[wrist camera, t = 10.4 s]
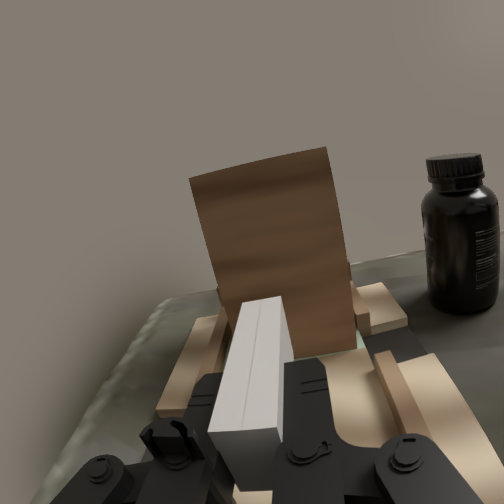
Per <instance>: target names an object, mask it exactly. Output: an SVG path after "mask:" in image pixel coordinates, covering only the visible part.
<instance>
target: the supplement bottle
mask: <svg viewBox="0 0 504 504" xmlns="http://www.w3.org/2000/svg"><path fill="white" fill-rule="evenodd" d="M426 165H427V171H428V181H429V182H430V183H432V189H431V190H430V191H429V192H428V193H427V194H426V195H425V196H424V198H423V200H422V204H421V211H422V220H423V228H424V239H425V251H426V265H427V284H428V296H429V299H430V301H431V302H432V304H433V305H434V306H436V307H437V308H439V309H440V310H442V311H445V312H449V313H454V314H471V313H476V312H479V311H482V310H484V309H486V308H488V307H489V306H490V305H492V304H493V302H494V301H495V300H496V298H497V295H498V290H499V274H500V225H499V207H498V200H497V197H496V195H495V194H494V193H493V191H492V190H491V189H489V188H488V187H486V186H485V185H483V182H482V179H483V178H484V177H485V173H484V171H483V165H482V158H481V154H477V153H464V154H451V155H443V156H437V157H431V158H428V159H426Z"/></svg>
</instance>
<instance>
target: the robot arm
mask: <svg viewBox="0 0 504 504" xmlns="http://www.w3.org/2000/svg"><path fill="white" fill-rule="evenodd" d="M139 436H140V438H141V439H142V441H143V442H144V444H145V445H146V447H147V448H148V450H149V451H150V453H151V454H152V456H153V457H154V458H153V460H151V461H148V462H143V463H137V464H131V465H124V464H123V462H122V461H121V460H120V459H118V458H117V457H116V456H113V455H100V456H97V457H95V458H92V459H90V460H89V461H88V462H87V463H86V464H84V466H83V467H82V468H81V469H80V470H79V471H78V472H77V473H76V475H75V476H74V477H73V478H72V479H71V480H70V481H69V483H68V484H67V485H66V486H65V487H64V488H63V489H62V490H61V492H60V493H59V494H58V495H57V496H56V497H55V498H54V499H53V500H52V502H51V503H50V504H237V503H236V501H235V499H234V498H233V491H234V485H235V484H236V486H237V488H238V489H239V491H240V492H254V491H272V504H484V503H483V502H482V500H481V499H480V498H479V497H478V495H477V494H476V493H475V492H474V490H473V489H472V488H471V487H470V485H469V484H468V483H467V482H466V480H465V479H464V478H463V477H462V475H461V474H460V473H459V472H458V470H457V469H456V468H455V467H454V465H453V464H452V463H451V462H450V460H449V459H448V458H447V457H446V455H445V454H444V453H443V452H442V451H441V449H440V448H439V447H438V446H437V444H436V443H435V442H434V441H432V440H431V439H430V438H428V437H427V436H424V435H420V434H417V433H409V434H402V435H398V436H395V437H393V438H391V439H390V440H388V441H387V442H385V443H384V444H383V445H382V446H381V447H380V448H374V447H360V446H354V445H351V444H349V443H347V442H345V441H344V440H342V439H341V438H340V437H339V435H338V434H337V432H336V429H335V425H334V418H333V412H332V405H331V399H330V392H329V386H328V380H327V374H326V368H325V365H324V364H323V363H322V362H321V361H320V360H319V359H318V358H317V357H315V358H310V359H304V360H298V361H294V354H293V349H292V345H291V340H290V335H289V331H288V326H287V322H286V317H285V313H284V308H283V303H282V299H281V296H277V297H272V298H266V299H261V300H255V301H250V302H244V303H242V306H241V310H240V314H239V317H238V321H237V325H236V328H235V332H234V336H233V340H232V343H231V347H230V351H229V354H228V358H227V362H226V365H225V369H224V372H218V373H208V374H204V375H203V376H202V377H201V379H200V380H199V381H198V382H197V383H196V384H195V386H194V389H193V391H192V394H191V398H190V400H189V402H188V407H187V408H186V410H185V413H184V416H183V418H180V417H173V416H172V417H166V418H161V419H159V420H156V421H154V422H152V423H151V424H149V425H148V426H146V427H145V428H144V429H143V431H142V432H141V433H140V435H139Z"/></svg>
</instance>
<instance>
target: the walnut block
mask: <svg viewBox="0 0 504 504" xmlns="http://www.w3.org/2000/svg"><path fill="white" fill-rule="evenodd" d="M189 182H190V186H191V190H192V193H193V197H194V201H195V205H196V209H197V212H198V216H199V220H200V223H201V227H202V231H203V234H204V238H205V242H206V245H207V249H208V252H209V256H210V259H211V263H212V266H213V270H214V273H215V277H216V280H217V284H218V287H219V291H220V294H221V297H222V301H223V304H224V307H225V311H226V314H227V317H228V321H229V324H230V327H231V330H232V334H233V336H234V332H235V328H236V325H237V321H238V317H239V314H240V310H241V306H242V303H244V302H250V301H255V300H261V299H266V298H272V297H277V296H281V299H282V303H283V308H284V313H285V317H286V322H287V326H288V331H289V335H290V340H291V345H292V349H293V354H294V359H298V358H305V357H312V356H318V355H324V354H330V353H336V352H342V351H348V350H353V349H358V348H357V337H356V327H355V317H354V308H353V300H352V292H351V284H350V277H349V269H348V262H347V256H346V249H345V243H344V237H343V231H342V225H341V219H340V213H339V208H338V202H337V197H336V192H335V187H334V182H333V177H332V172H331V167H330V162H329V158H328V154H327V149H326V147H322V148H317V149H311V150H306V151H301V152H296V153H291V154H286V155H281V156H277V157H272V158H268V159H263V160H259V161H254V162H250V163H246V164H242V165H238V166H234V167H230V168H226V169H222V170H218V171H214V172H210V173H206V174H203V175H199V176H195V177H192V178H189Z"/></svg>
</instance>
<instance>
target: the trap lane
mask: <svg viewBox="0 0 504 504" xmlns="http://www.w3.org/2000/svg"><path fill="white" fill-rule="evenodd" d="M347 262H348V269H349V277H350V284H351V292H352V300H353V308H354V317H355V327H356V337H357V348H358V349H353V350H348V351H342V352H336V353H330V354H324V355H318V356H312V357H305V358H298V359H294V361H298V360H304V359H310V358H315V357H317V358H318V359H319V360H320V361H321V362H322V363H323V364H324V365H325V368H326V374H327V380H328V386H329V392H330V399H331V405H332V412H333V418H334V425H335V429H336V432H337V434H338V435H339V437H340V438H341V439H342V440H344V441H345V442H347V443H349V444H351V445H354V446H360V447H374V448H380V447H381V446H382V445H383V444H384V443H385V442H387V441H388V440H390V439H391V438H393V437H395V436H398V435H402V434H409V433H417V434H420V435H424V436H427V437H428V438H430V439H431V440H432V441H434V442H435V443H436V444H437V446H438V447H439V448H440V449H441V451H442V452H443V453H444V454H445V455H446V457H447V458H448V459H449V460H450V462H451V463H452V464H453V465H454V467H455V468H456V469H457V470H458V472H459V473H460V474H461V475H462V477H463V478H464V479H465V480H466V482H467V483H468V484H469V485H470V487H471V488H472V489H473V490H474V492H475V493H476V494H477V495H478V497H479V498H480V499H481V500H482V502H483V503H484V504H504V467H503V465H502V463H501V462H500V460H499V458H498V456H497V454H496V452H495V451H494V449H493V447H492V445H491V443H490V442H489V440H488V438H487V436H486V435H485V433H484V431H483V430H482V428H481V426H480V425H479V423H478V421H477V419H476V418H475V416H474V415H473V413H472V411H471V410H470V408H469V406H468V405H467V403H466V402H465V400H464V398H463V397H462V395H461V394H460V392H459V390H458V389H457V387H456V386H455V384H454V383H453V381H452V380H451V378H450V377H449V375H448V374H447V372H446V371H445V369H444V368H443V366H442V365H441V363H440V362H439V360H438V359H437V357H436V356H435V354H434V353H431V354H428V355H427V353H426V352H425V350H424V349H423V347H422V346H421V344H420V343H419V341H418V340H417V338H416V337H415V335H414V334H413V332H412V331H411V330H410V328H409V327H408V316H407V315H406V314H405V312H404V311H403V310H402V308H401V307H400V306H399V304H398V303H397V302H396V300H395V299H394V298H393V296H392V295H391V294H390V292H389V291H388V290H387V289H386V287H385V286H384V285H383V283H382V282H380V283H376V284H372V285H367V286H363V287H359V288H356V287H355V285H354V283H353V282H352V278H351V270H350V263H349V261H348V259H347ZM217 292H218V295H219V299H220V302H221V305H222V307H221V310H220V313H219V315H215V316H209V317H203V318H197V320H196V322H195V324H194V326H193V328H192V331H191V333H190V335H189V337H188V339H187V341H186V343H185V346H184V348H183V350H182V352H181V354H180V356H179V359H178V361H177V363H176V365H175V367H174V369H173V372H172V374H171V376H170V378H169V380H168V382H167V385H166V387H165V389H164V391H163V393H162V396H161V398H160V400H159V402H158V405H157V407H156V409H155V410H156V412H157V413H158V415H159V417H160V419H161V418H166V417H172V416H173V417H180V418H183V416H184V413H185V410H186V408H187V407H188V402H189V400H190V398H191V394H192V391H193V389H194V386H195V384H196V383H197V382H198V381H199V380H200V379H201V377H202V376H203V375H204V374H208V373H218V372H224V369H225V365H226V362H227V358H228V354H229V351H230V347H231V343H232V340H233V334H232V330H231V327H230V324H229V321H228V317H227V314H226V311H225V307H224V304H223V301H222V297H221V294H220V291H219V287H218V286H217ZM153 458H154V457H153V456H152V454H151V453H150V451H149V450H148V448H147V450H146V452H145V455H144V457H143V460H142V462H141V463H143V462H148V461H151V460H153ZM233 498H234V499H235V501H236V503H237V504H272V491H254V492H240V491H239V489H238V488H237V486H236V484H235V485H234V491H233Z"/></svg>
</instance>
